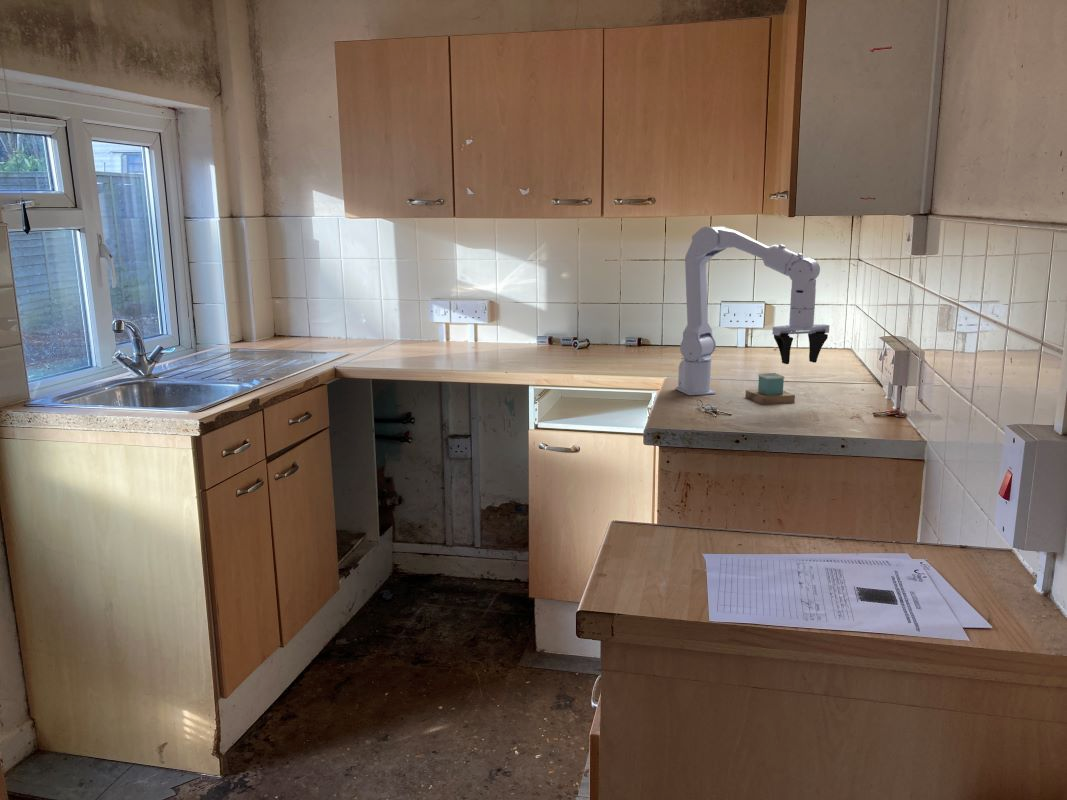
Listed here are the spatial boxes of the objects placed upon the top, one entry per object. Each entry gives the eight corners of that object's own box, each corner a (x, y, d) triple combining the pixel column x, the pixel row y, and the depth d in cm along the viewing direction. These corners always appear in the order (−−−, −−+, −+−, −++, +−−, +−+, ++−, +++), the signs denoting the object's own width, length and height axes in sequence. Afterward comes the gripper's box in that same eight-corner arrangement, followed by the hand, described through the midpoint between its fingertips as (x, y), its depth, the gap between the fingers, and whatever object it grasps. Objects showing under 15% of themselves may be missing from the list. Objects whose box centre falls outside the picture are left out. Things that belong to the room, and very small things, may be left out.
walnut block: (745, 399, 217) (745, 390, 217) (776, 397, 219) (776, 388, 219) (762, 406, 209) (762, 397, 208) (794, 404, 211) (795, 395, 210)
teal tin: (757, 391, 215) (758, 373, 214) (774, 390, 216) (774, 372, 215) (766, 395, 211) (767, 377, 209) (783, 393, 212) (784, 376, 211)
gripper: (784, 310, 197) (781, 366, 200) (838, 308, 201) (834, 363, 204) (769, 307, 204) (766, 362, 207) (821, 305, 208) (818, 359, 210)
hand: (799, 362), depth 206 cm, fingers open, 7 cm apart
